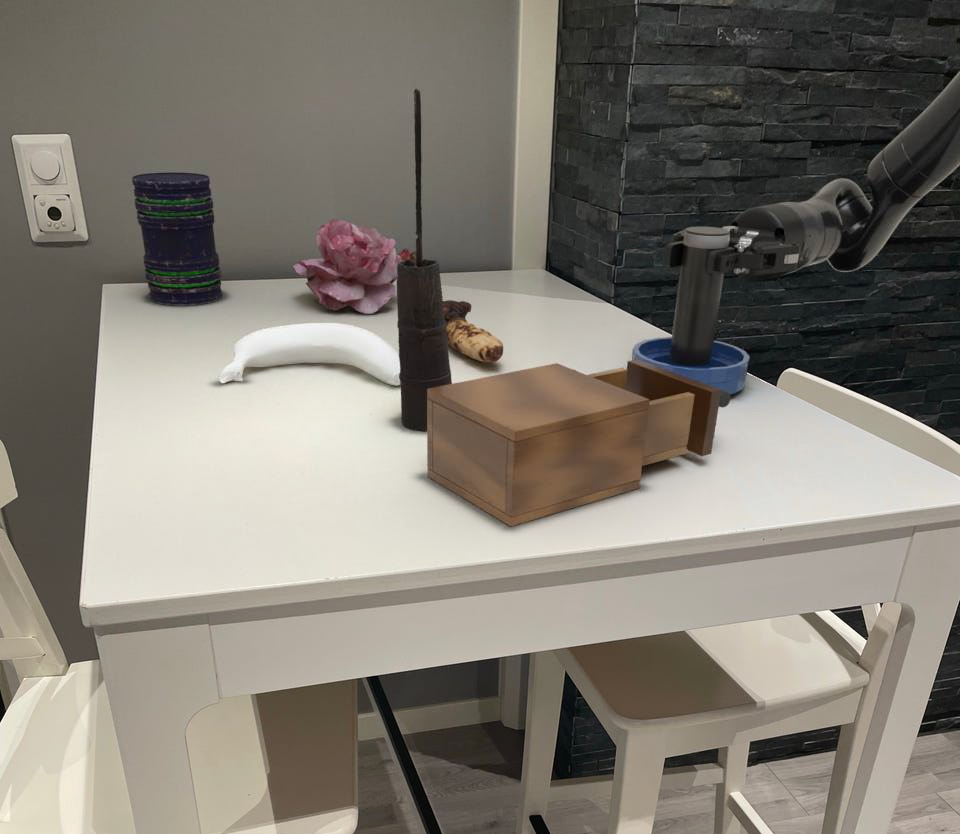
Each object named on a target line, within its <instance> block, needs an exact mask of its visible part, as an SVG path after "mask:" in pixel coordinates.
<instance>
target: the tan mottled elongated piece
mask: <svg viewBox="0 0 960 834" xmlns="http://www.w3.org/2000/svg"><path fill="white" fill-rule="evenodd" d="M443 307H444V317H445V321H446V325H447V327H446V334H447V343H448V346H450V347H451V348H452V349H455V350H456V351H457V352H459V353H461V354H463V355H465V356H467V357H469V358H470V359H472V360H476V361H478V362H479V361H480V362H482V363H495V362H497V361H499V360H500V359H501V358H502V357H503V354H504V345H503V343H502V341H501V339H499V338H498V337H496V336H495V335H493V334H492V333H491V332H490V331H487V330H486V329H484V328H481V327H477V326H476V325H474V324H472V323H470V322H468V321H467V319H466V317H467V315H468V313H471V311H472V304H471V303H470V302H468V301H465V300H460V301H457V300H453V299H451V300H450V299H449V300H443Z"/></svg>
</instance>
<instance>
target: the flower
mask: <svg viewBox="0 0 960 834" xmlns="http://www.w3.org/2000/svg"><path fill="white" fill-rule="evenodd" d="M315 240H316V241H315V242H316V246H317V249H318V251H319V253H320V255H321V257H322V258H310V259H303V260H302V259H301V260H299V261H298V262H297V263H296V264H293V265H292V268H293V270H294V272H296V273H297V274H298V275H300V276H301V277H304V278H306V280H307V282H305V285H306V286H307V287H308V289H309V290H310V291H311V292H312V294H314V295H315V296H316V298H317V300H318V302H319V304H320V305H322V306H323V307H325V308H327V309H329V310H332V311H338V310H339V309H343V308H345V307H348V306H350V307H351V308H352V309H354V310H355V311H357V312H359V313H360V314H364V315H373V314H374V313H376V312H378V311H379V310H381V308H382V306H385V305H387V304H388V303H389V301H390V299H391V298H393V297H394V296H395V292H396V285H394V284H393V283H395V282H396V281H397V277H398V275H397V265H398V264H397V263H398V262H401V261H404V260H405V259H409V260H411V259H410V251H409V248H403V249H402V250H401V251H400V252H399V253H397V251H396V248H395V247H396V245H397V242H396V240H395V239H394V238H386V237H385V236H383V235H382V234H381V233H380V232H379V231H378V230H377V229H376V228H374V227H372V228H371V227H368V226H364V225H360V226H359V227H358V226H357V225H355V224H354V223H353V222H348V221H346V220H343V219H340V218H339V219H334V218H331V219H330V221H329V222H327V223H324V224H322V225H320V227H319V228H318V230H317V235H316V238H315Z"/></svg>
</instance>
